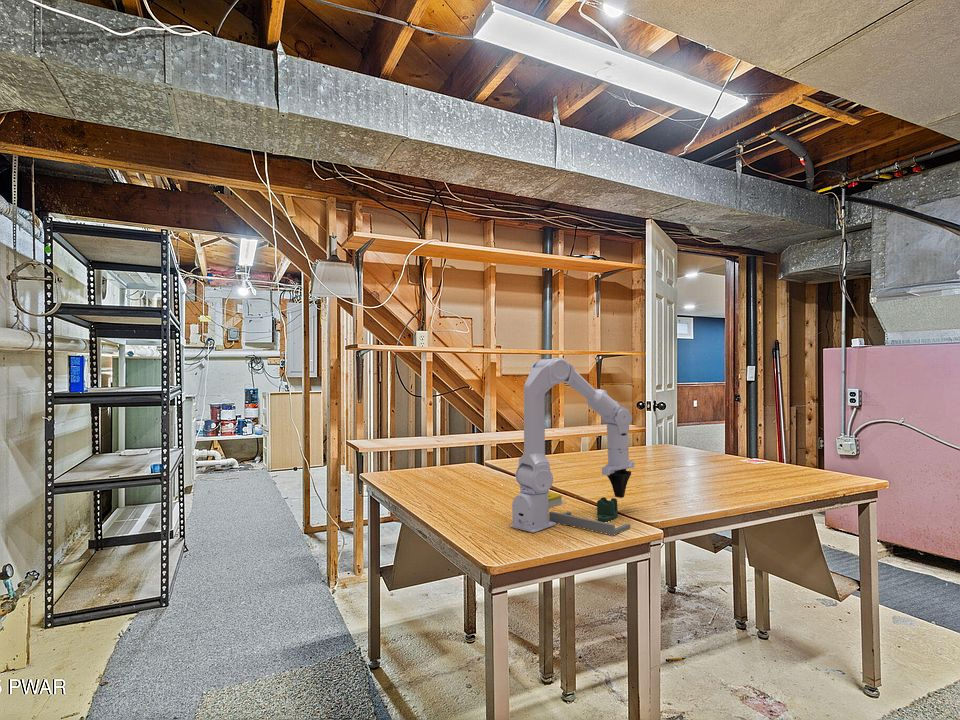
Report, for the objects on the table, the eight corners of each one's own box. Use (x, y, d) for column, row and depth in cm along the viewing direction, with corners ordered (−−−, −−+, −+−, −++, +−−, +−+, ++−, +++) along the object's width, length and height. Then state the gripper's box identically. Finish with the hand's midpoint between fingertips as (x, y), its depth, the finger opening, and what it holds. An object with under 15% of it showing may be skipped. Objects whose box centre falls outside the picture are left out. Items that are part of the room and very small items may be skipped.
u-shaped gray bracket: (612, 536, 123) (612, 525, 123) (549, 521, 136) (549, 512, 136) (630, 528, 129) (630, 518, 129) (567, 514, 142) (567, 505, 142)
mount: (610, 524, 133) (609, 504, 133) (593, 522, 135) (593, 503, 136) (620, 513, 143) (620, 495, 143) (605, 512, 145) (604, 494, 145)
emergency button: (511, 493, 153) (543, 485, 163) (512, 508, 152) (543, 499, 163) (536, 498, 146) (567, 489, 156) (536, 514, 146) (567, 504, 156)
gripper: (617, 453, 136) (619, 504, 136) (643, 446, 147) (645, 494, 146) (594, 450, 141) (596, 500, 141) (621, 444, 152) (622, 490, 151)
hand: (619, 497), depth 144 cm, fingers closed
